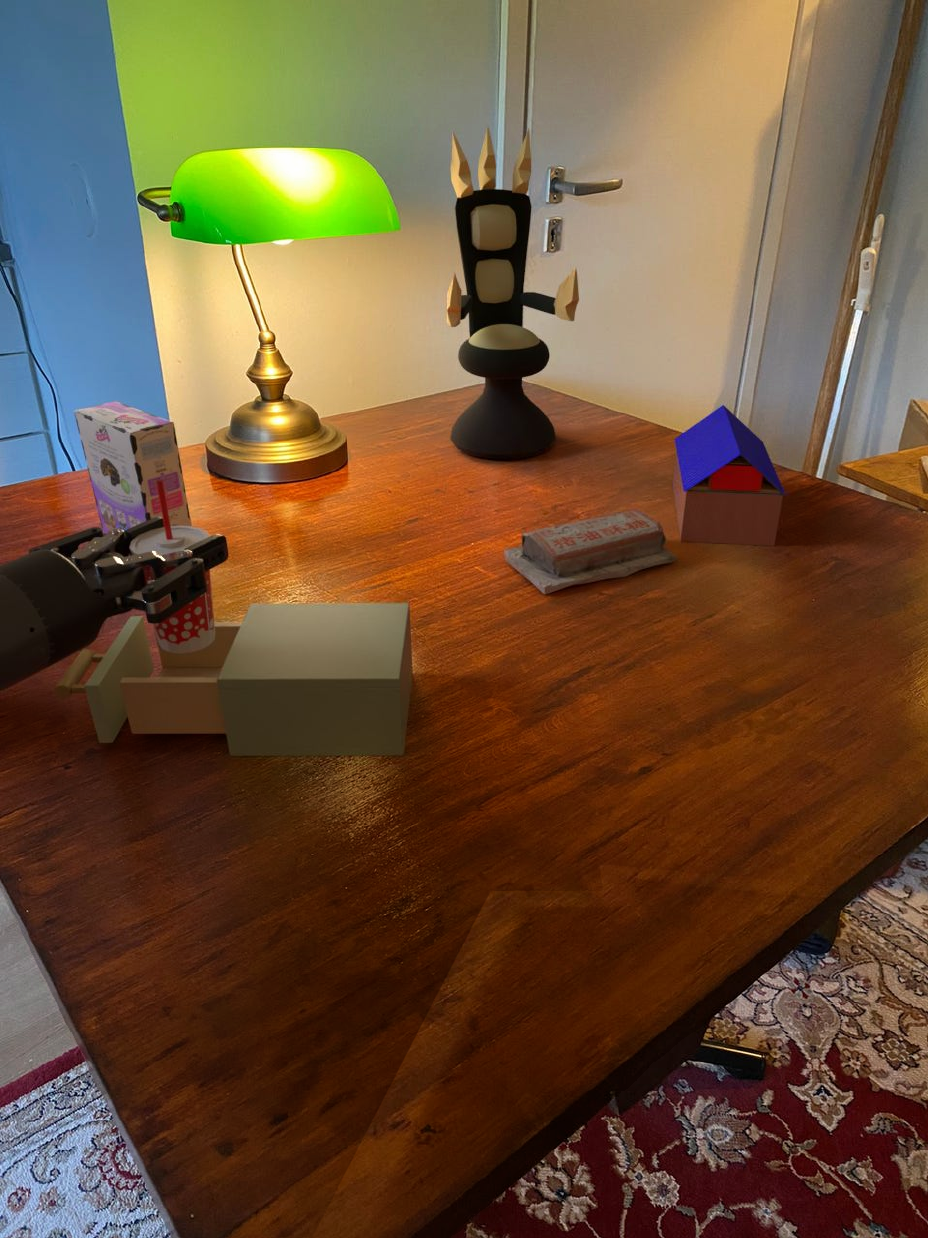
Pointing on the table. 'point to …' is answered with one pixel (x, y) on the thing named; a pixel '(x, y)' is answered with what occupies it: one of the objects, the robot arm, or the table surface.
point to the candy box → (131, 465)
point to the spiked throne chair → (500, 309)
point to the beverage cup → (197, 618)
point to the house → (725, 484)
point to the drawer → (152, 685)
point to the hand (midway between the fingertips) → (193, 536)
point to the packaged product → (590, 550)
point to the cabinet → (318, 680)
